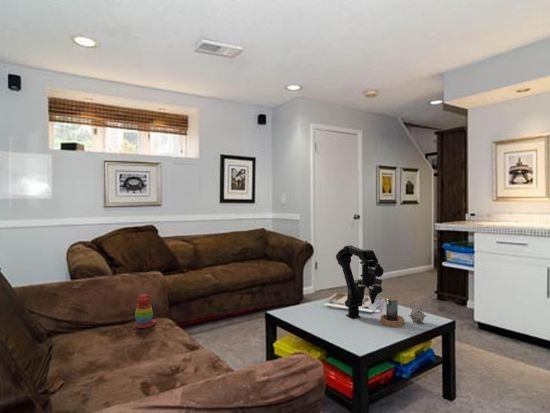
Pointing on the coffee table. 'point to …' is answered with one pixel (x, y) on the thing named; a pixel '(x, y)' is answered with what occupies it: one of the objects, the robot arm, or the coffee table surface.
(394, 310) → the canister
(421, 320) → the grey spiky ball
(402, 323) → the bowl
